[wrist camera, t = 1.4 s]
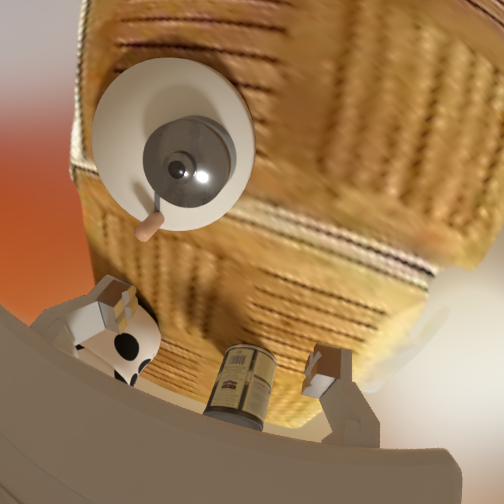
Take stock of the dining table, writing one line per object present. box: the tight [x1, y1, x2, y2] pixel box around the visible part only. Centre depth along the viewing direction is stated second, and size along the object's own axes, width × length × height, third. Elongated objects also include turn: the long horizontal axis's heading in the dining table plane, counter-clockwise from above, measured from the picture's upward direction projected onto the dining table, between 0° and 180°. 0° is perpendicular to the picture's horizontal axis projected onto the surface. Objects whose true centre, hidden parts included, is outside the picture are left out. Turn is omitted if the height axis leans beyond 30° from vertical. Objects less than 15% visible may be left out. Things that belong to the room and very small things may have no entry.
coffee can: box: [203, 344, 277, 432], centre depth 46 cm, size 10×10×14 cm
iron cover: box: [143, 115, 237, 208], centre depth 27 cm, size 9×9×5 cm
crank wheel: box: [92, 58, 256, 242], centre depth 28 cm, size 21×21×6 cm
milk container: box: [75, 303, 161, 387], centre depth 46 cm, size 17×17×18 cm
